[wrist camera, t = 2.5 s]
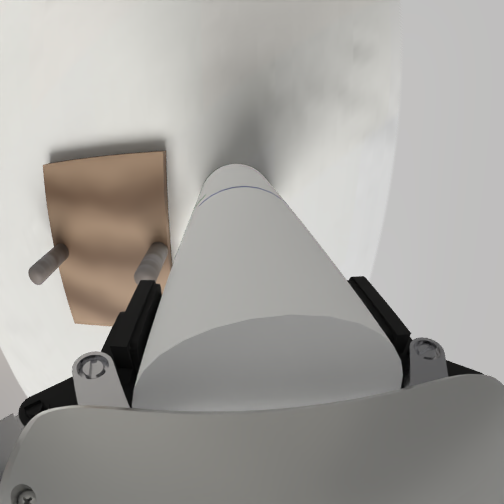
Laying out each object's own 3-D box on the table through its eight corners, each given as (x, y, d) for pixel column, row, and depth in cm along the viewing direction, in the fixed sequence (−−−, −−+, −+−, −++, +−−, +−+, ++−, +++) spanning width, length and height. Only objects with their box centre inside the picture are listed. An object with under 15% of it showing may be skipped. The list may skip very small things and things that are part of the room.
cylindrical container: (283, 209, 30) (415, 414, 7) (225, 244, 31) (233, 487, 8) (248, 150, 28) (358, 243, 5) (187, 188, 29) (77, 390, 6)
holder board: (49, 163, 26) (10, 175, 19) (166, 150, 27) (146, 157, 20) (79, 316, 33) (56, 352, 27) (178, 321, 35) (170, 363, 28)
